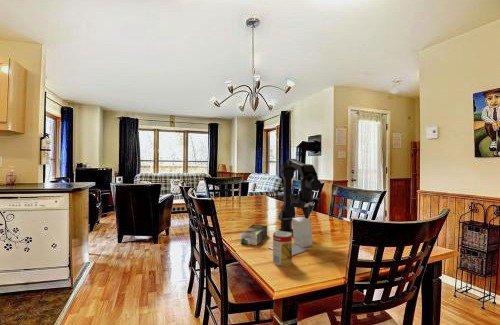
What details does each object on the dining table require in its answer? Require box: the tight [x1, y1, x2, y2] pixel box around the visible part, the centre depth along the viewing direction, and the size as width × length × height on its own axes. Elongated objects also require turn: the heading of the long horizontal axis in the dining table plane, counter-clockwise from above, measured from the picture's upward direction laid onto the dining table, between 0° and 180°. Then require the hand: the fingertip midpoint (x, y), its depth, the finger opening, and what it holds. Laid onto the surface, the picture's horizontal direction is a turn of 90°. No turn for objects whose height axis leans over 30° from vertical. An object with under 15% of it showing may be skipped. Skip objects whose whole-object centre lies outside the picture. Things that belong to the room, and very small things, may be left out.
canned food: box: [272, 230, 293, 267], centre depth 110 cm, size 8×8×12 cm
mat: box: [268, 243, 310, 257], centre depth 126 cm, size 13×14×1 cm
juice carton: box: [239, 224, 268, 246], centre depth 142 cm, size 20×10×6 cm, turn 161°
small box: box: [292, 216, 314, 248], centre depth 133 cm, size 8×6×13 cm
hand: (306, 219), depth 135 cm, fingers closed
